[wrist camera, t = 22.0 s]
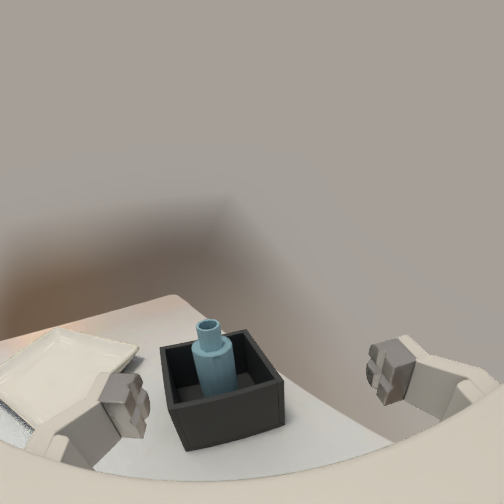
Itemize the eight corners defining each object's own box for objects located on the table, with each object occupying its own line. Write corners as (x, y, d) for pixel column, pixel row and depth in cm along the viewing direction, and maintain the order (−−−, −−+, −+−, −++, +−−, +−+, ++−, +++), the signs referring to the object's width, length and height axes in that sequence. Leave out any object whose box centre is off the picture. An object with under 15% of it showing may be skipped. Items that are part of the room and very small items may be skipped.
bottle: (234, 390, 39) (222, 311, 36) (245, 411, 35) (233, 329, 31) (203, 398, 38) (184, 319, 34) (210, 420, 33) (190, 339, 30)
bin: (251, 371, 45) (246, 328, 42) (284, 424, 32) (284, 380, 30) (172, 389, 41) (159, 347, 38) (186, 451, 28) (167, 410, 26)
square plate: (61, 455, 23) (48, 438, 22) (-13, 394, 30) (-22, 379, 29) (145, 359, 49) (140, 342, 48) (60, 337, 55) (55, 324, 54)
